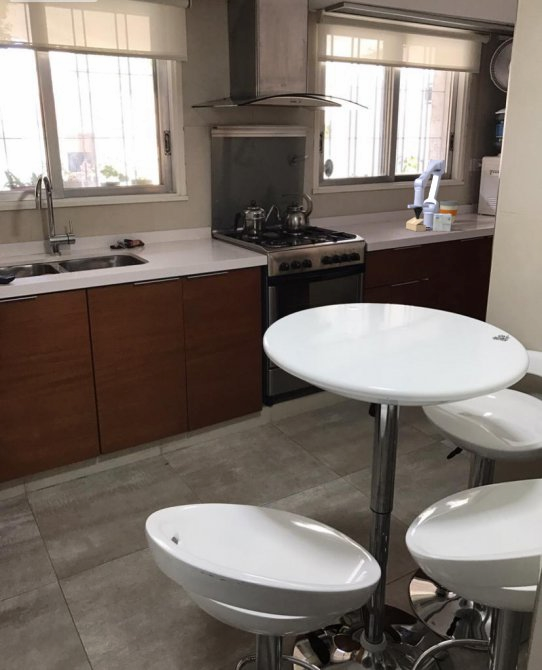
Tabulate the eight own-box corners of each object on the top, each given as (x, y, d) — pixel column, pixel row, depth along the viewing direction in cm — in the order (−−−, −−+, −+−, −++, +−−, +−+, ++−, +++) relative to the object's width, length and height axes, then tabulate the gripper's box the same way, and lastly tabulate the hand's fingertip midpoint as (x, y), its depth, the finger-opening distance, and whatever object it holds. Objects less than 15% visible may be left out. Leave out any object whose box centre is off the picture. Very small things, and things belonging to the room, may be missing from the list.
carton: (405, 229, 393) (406, 222, 392) (415, 228, 395) (415, 222, 394) (415, 231, 381) (416, 225, 380) (425, 231, 383) (426, 225, 382)
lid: (406, 222, 392) (406, 222, 391) (414, 217, 392) (414, 216, 392) (416, 225, 380) (415, 224, 380) (424, 219, 381) (424, 219, 380)
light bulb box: (448, 230, 389) (450, 213, 385) (450, 231, 382) (452, 214, 379) (432, 229, 390) (433, 213, 386) (433, 231, 383) (435, 214, 380)
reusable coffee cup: (447, 224, 416) (449, 202, 411) (434, 222, 426) (436, 200, 422) (460, 222, 422) (462, 201, 417) (447, 220, 432) (449, 199, 428)
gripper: (412, 198, 376) (410, 220, 380) (432, 198, 380) (430, 219, 384) (406, 197, 383) (405, 218, 387) (426, 197, 387) (424, 218, 391)
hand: (417, 219), depth 386 cm, fingers closed, pressing on lid
